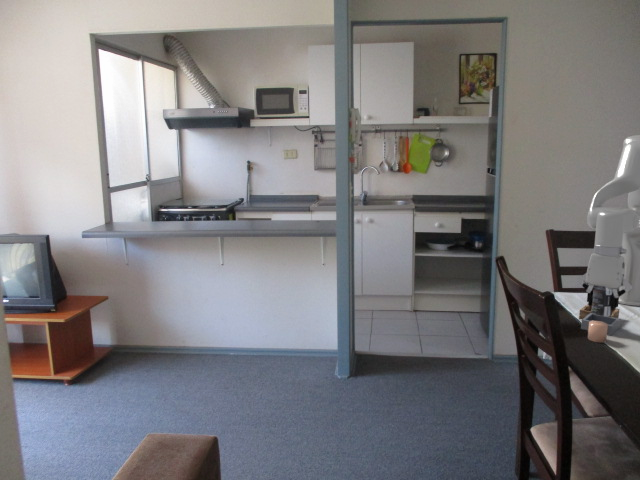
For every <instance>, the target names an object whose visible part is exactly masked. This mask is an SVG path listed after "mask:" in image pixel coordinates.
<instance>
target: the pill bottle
mask: <svg viewBox="0 0 640 480" xmlns="http://www.w3.org/2000/svg"><path fill="white" fill-rule="evenodd" d="M613 297H614V294H613V291H612V288H607V287H603V286H594V287H593V295H592V306H591V313H593V314H595V315H598V316H611V315H612V309H611V304H612V298H613Z"/></svg>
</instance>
